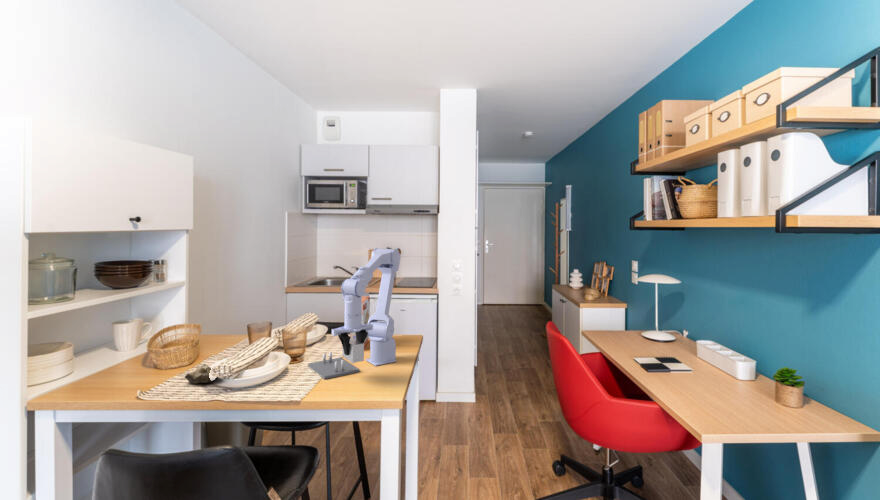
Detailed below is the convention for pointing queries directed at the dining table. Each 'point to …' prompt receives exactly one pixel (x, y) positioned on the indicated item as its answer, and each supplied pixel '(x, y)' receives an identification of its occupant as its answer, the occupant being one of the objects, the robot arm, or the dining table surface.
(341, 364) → the pin tray
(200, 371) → the fossilized seashell
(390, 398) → the dining table surface
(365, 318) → the cracker box
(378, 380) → the dining table surface
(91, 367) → the dining table surface
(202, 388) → the dining table surface
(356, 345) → the grey block
